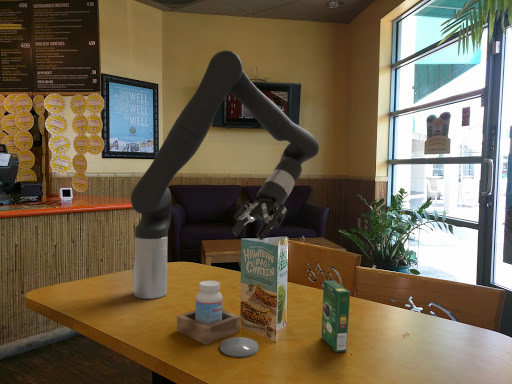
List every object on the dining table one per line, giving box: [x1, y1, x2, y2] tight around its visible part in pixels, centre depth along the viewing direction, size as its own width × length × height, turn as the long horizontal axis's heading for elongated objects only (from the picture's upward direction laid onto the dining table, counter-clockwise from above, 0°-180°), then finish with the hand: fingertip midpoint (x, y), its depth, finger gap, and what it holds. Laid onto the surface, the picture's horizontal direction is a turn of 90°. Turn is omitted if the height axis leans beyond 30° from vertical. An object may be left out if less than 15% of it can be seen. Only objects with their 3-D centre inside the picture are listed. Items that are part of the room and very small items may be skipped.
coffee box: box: [320, 280, 351, 353], centre depth 84 cm, size 8×3×13 cm, turn 13°
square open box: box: [176, 309, 241, 346], centre depth 89 cm, size 10×10×4 cm
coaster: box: [219, 336, 259, 358], centre depth 81 cm, size 8×8×1 cm
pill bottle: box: [195, 280, 223, 326], centre depth 89 cm, size 6×6×11 cm
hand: (246, 235), depth 98 cm, fingers open, 8 cm apart
